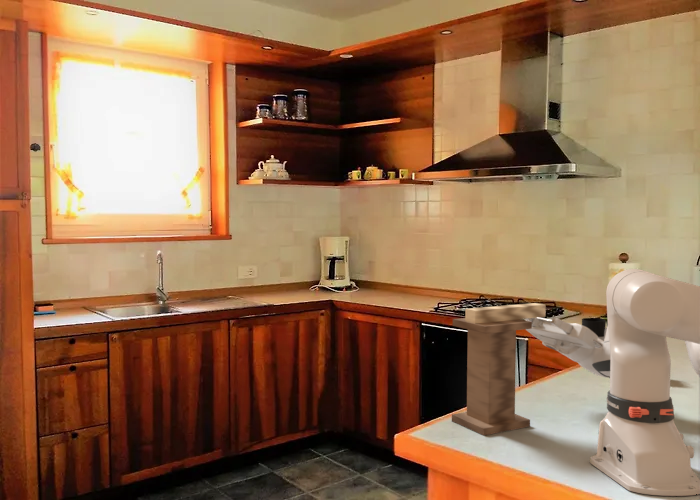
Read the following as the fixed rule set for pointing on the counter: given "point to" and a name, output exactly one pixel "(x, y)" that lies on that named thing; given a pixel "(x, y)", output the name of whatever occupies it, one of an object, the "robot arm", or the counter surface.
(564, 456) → the counter surface
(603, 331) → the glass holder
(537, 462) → the counter surface
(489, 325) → the walnut pedestal
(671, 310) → the robot arm
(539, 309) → the maple bar
